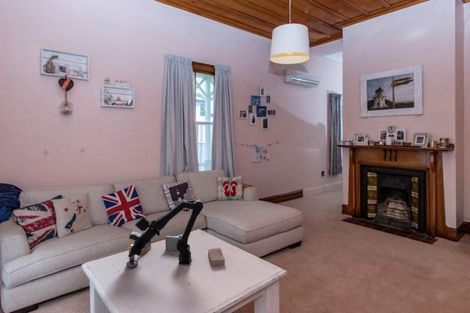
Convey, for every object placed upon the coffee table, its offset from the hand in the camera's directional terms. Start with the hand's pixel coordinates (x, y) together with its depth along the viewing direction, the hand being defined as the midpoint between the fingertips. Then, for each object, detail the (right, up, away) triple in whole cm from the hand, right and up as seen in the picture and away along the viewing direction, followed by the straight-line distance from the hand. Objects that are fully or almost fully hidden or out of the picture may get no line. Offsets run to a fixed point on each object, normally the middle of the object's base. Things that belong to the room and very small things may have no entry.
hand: (129, 255), depth 165 cm
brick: (+51, -6, +7) cm, 52 cm away
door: (+3, -5, +19) cm, 20 cm away
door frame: (+15, -4, +24) cm, 29 cm away
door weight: (+1, -7, +1) cm, 7 cm away
